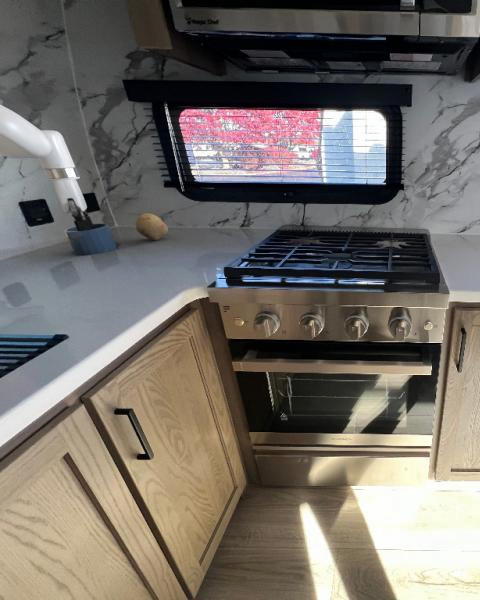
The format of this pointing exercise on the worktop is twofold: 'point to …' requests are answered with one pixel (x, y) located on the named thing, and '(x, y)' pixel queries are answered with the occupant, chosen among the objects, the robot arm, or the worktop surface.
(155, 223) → the potato
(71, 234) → the canister
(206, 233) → the worktop surface
